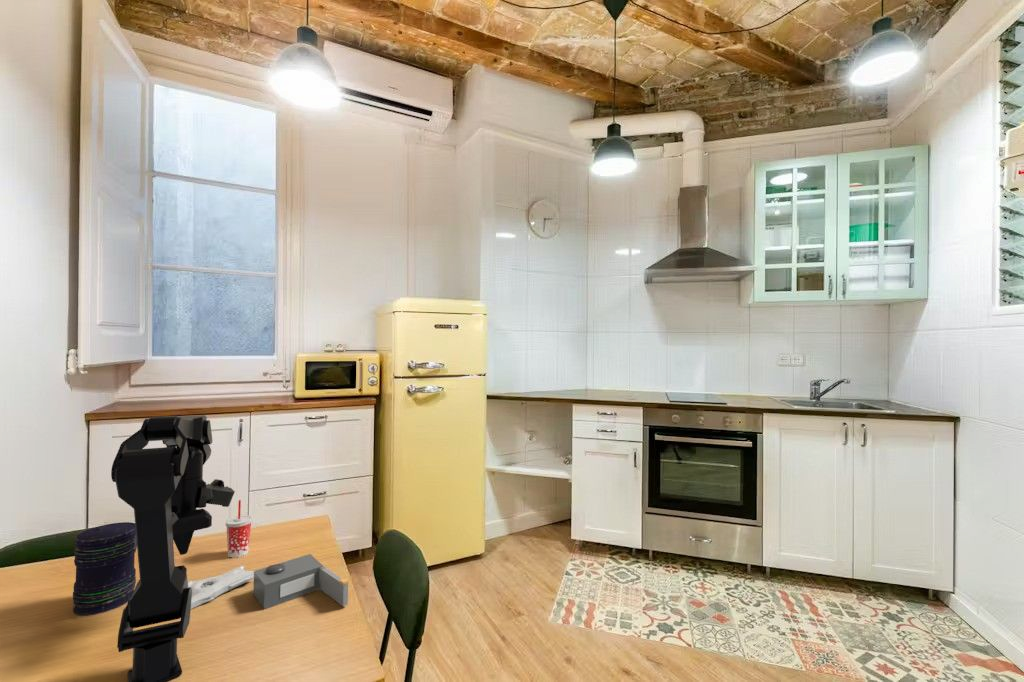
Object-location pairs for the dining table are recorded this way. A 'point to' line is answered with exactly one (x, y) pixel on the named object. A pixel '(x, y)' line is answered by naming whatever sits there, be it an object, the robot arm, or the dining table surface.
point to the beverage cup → (238, 534)
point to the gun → (217, 585)
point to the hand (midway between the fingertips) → (183, 553)
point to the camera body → (286, 580)
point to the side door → (333, 586)
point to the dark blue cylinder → (104, 568)
